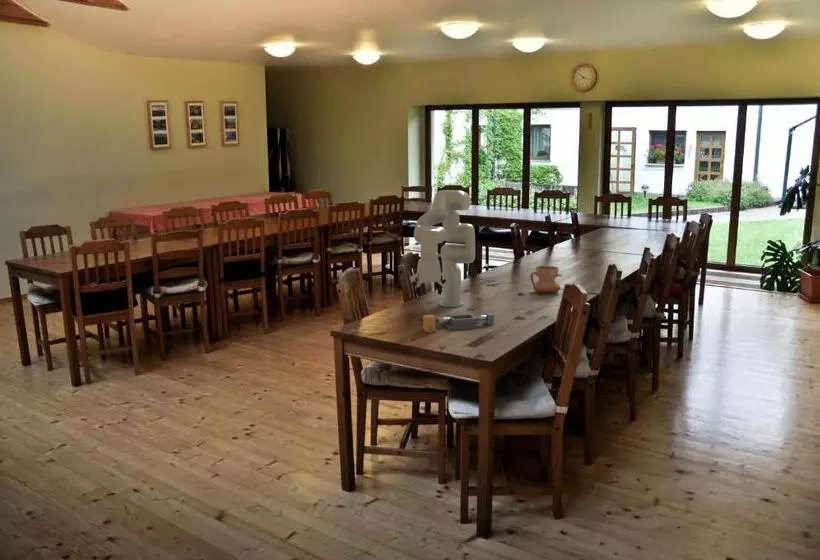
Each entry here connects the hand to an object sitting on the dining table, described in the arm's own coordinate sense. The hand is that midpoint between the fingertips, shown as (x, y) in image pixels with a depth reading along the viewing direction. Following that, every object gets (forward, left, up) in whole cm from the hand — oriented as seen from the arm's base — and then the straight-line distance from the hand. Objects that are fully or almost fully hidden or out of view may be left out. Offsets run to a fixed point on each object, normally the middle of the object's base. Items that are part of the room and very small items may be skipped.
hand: (429, 294), depth 316 cm
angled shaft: (-6, +8, -17) cm, 19 cm away
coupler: (0, 0, -17) cm, 17 cm away
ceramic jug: (-55, +83, -17) cm, 101 cm away
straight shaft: (-4, +27, -17) cm, 32 cm away
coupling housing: (-4, +17, -17) cm, 24 cm away
